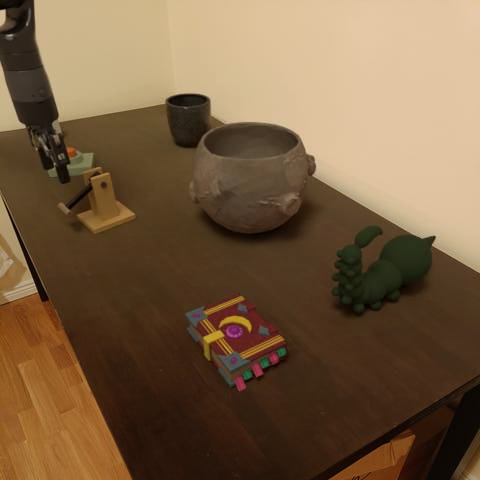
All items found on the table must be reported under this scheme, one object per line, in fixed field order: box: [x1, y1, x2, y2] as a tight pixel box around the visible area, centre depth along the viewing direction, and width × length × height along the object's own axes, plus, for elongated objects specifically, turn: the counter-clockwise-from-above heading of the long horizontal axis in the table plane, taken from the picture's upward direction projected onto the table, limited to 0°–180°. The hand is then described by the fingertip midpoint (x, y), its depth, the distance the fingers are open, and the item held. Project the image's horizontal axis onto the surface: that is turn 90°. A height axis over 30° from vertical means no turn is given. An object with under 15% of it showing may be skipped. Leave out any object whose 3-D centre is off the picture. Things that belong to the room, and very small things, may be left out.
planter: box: [164, 92, 212, 148], centre depth 135 cm, size 14×14×13 cm
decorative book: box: [184, 293, 288, 392], centre depth 72 cm, size 11×16×5 cm
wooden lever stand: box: [76, 166, 137, 235], centre depth 101 cm, size 11×9×12 cm
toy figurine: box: [330, 224, 437, 314], centre depth 78 cm, size 9×19×25 cm
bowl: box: [188, 121, 317, 235], centre depth 97 cm, size 27×29×20 cm
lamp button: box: [66, 147, 76, 158], centre depth 123 cm, size 4×4×2 cm
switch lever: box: [57, 171, 101, 218], centre depth 98 cm, size 12×5×2 cm, turn 130°
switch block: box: [47, 150, 96, 178], centre depth 124 cm, size 12×10×4 cm
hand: (57, 175), depth 92 cm, fingers open, 8 cm apart
